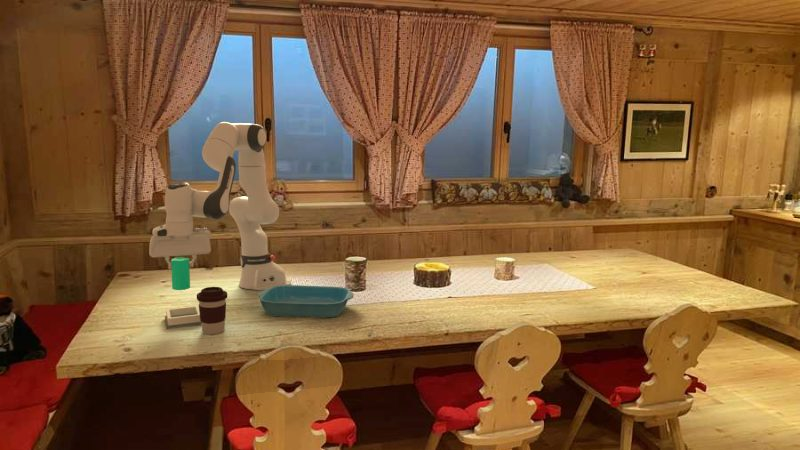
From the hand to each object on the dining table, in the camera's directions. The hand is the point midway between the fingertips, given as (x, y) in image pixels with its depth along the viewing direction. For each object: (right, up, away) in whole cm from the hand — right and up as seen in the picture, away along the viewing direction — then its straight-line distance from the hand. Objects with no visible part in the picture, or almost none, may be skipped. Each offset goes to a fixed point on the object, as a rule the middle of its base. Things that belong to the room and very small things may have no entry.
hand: (181, 267), depth 200 cm
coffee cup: (+13, -22, -5) cm, 26 cm away
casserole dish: (+41, -18, +19) cm, 49 cm away
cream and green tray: (+1, -20, +4) cm, 20 cm away
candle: (0, -8, +1) cm, 8 cm away
